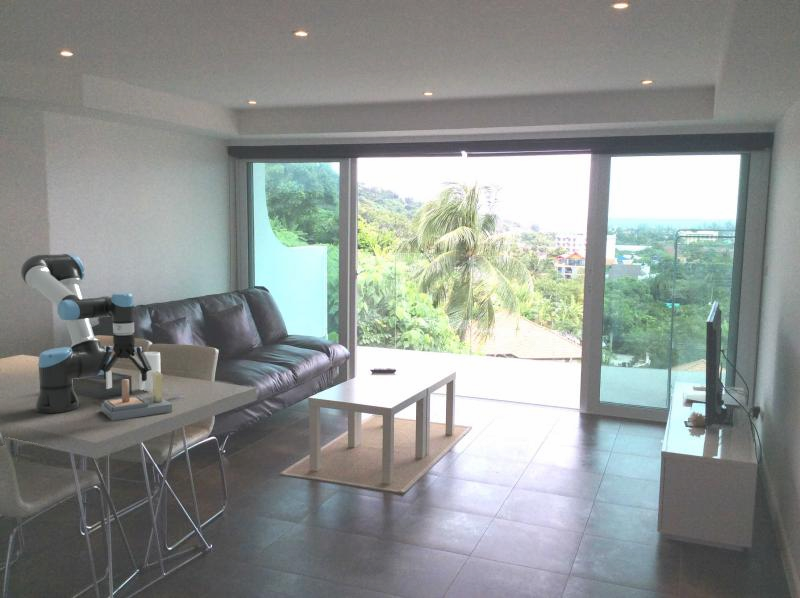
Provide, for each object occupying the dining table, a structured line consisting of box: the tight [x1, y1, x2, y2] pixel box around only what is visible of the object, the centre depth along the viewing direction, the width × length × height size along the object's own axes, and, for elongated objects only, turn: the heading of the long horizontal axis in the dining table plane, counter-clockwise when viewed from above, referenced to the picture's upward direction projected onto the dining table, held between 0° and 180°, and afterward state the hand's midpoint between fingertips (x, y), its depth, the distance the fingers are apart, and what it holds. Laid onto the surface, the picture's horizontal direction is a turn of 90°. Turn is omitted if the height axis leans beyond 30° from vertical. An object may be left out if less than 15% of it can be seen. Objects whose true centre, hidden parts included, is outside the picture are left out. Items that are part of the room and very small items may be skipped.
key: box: [147, 371, 164, 402], centre depth 268 cm, size 12×2×11 cm, turn 36°
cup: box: [141, 351, 162, 392], centre depth 298 cm, size 8×8×16 cm
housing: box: [101, 395, 173, 422], centre depth 261 cm, size 22×16×4 cm
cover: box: [109, 378, 143, 407], centre depth 258 cm, size 10×10×10 cm
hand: (125, 388), depth 258 cm, fingers open, 13 cm apart
